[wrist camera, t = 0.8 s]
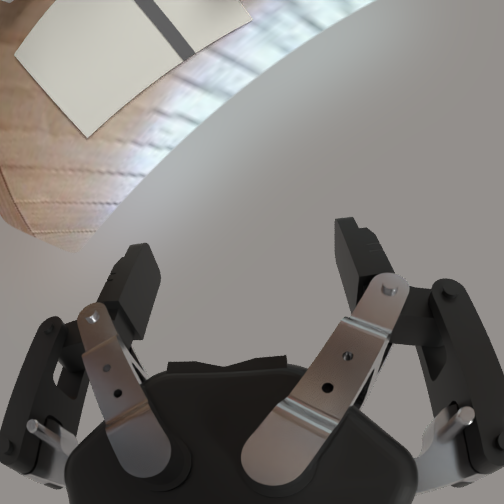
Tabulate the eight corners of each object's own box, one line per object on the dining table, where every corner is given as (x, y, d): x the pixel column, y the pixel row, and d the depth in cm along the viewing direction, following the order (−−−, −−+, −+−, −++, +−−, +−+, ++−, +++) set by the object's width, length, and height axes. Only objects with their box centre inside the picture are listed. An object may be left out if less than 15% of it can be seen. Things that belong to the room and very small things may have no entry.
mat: (17, 53, 25) (13, 55, 24) (163, -88, 14) (161, -90, 14) (90, 135, 36) (87, 138, 35) (253, 19, 26) (252, 20, 25)
